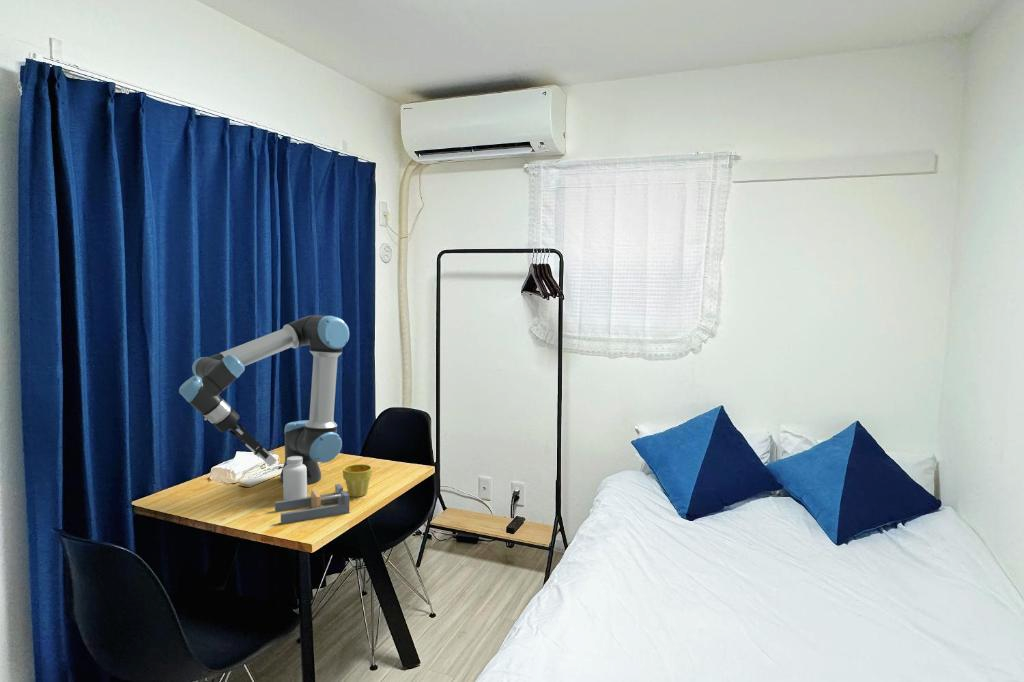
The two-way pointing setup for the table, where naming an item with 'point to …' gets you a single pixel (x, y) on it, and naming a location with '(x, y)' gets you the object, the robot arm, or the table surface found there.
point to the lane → (313, 513)
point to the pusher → (319, 498)
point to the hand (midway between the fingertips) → (267, 458)
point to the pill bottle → (294, 478)
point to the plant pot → (357, 479)
